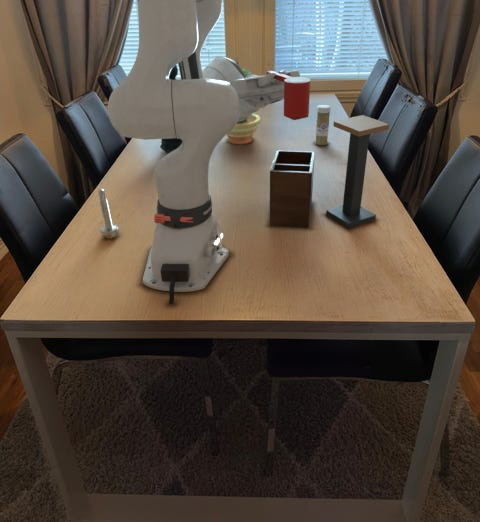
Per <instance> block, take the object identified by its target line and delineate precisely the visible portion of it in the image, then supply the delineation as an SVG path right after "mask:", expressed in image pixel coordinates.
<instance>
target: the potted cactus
mask: <svg viewBox="0 0 480 522" xmlns="http://www.w3.org/2000/svg"><path fill="white" fill-rule="evenodd" d="M241 69H242V71H243V73H244V75H245V77H248V76H250V75H254V74H253V73H252V72H250V71H249V70H248V69H246V68H245V67H244V68H243V67H242V68H241ZM261 120H262V119H261V117H260V115H259V114H255V113H253V114H252V115H251V116H249V117H247V118H246V119H244V120H241V121H238V122H237V124H236V125H235V127H234V128H233V129H232V130H231V131H230V132H229V133H228V134H227V135H226V137H227V138H228V142H229V143H231V144H233V145H235V144H236V145H245V144H249V143H251V142H253V136H254V135H255V134H256V132H257V129H258V127H259V125H260V124H261Z"/></svg>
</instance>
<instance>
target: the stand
mask: <svg viewBox="0 0 480 522" xmlns="http://www.w3.org/2000/svg"><path fill="white" fill-rule="evenodd" d="M333 127H334V128H337V129H339V130H340V131H341V130H342V131H344V132H346V133H349V142H348V152H347V161H346V169H345V170H346V172H345V182H344V191H343V201H342V205H338V206H335V207H332V208H328V209H326V210H325V216H327V217H329V218H330V219H331V220H333V221H335V222H336V223H338V224H340V226H343V227H344V228H346V229H348V230H350V229H353V228H356V227H359V226H362V225H365V224H368V223H370V222H374V221H376V218H377V214H375V213H374V212H371V211H370V210H368V209H366V208H364V207H363V206H362V199H363V191H364V182H365V176H366V175H365V174H366V167H367V158H368V152H369V151H368V150H369V142H370V136H371V134H376V133H379V132H384V131H388V130H389V129H390V124H389V123H387V122H384V121H381V120H378V119H375V118H372V117H370V116H367V115H364V114H361V115H356V116H352V117H348V118H347V117H346V118H342V119H338V120H334V121H333Z"/></svg>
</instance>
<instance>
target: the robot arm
mask: <svg viewBox="0 0 480 522" xmlns="http://www.w3.org/2000/svg"><path fill="white" fill-rule="evenodd" d="M136 4H137V14H138V48H137V49H138V51H137V54H136V59H135V61H134V63H133V65H132V67H131V69H130V71H129V73H128V74H127V75H126V77H125V78H124V79H123V80H122V81H121V82H120V83H119V84H118V85H116V87H115V88H113V90H112V92H111V93H110V96H109V97H108V98H109V99H108V103H107V115H108V119H109V121H110V123H111V126H112V128H113V129H114V131H116V132H117V133H118V134H119V135H120V136H121V137H124V138H129V139H135V140H136V139H137V140H142V141H143V140H145V141H146V140H161V139H169V138H177V139H181V140H182V144H181V145H180V146H179V147H178V148H177V149H175V150H174V151H172V152H170V153H166V154H165V155H164V156H162V157H161V158H160V159H159V160H158V162H157V163H156V166H155V170H154V175H155V183H156V189H157V201H156V213H154V215H153V216H154V217H153V222H154V223H155V227H154V233H153V238H152V245H151V246H150V249H149V254H148V257H147V261H146V264H145V269H144V273H143V277H142V284H143V285H144V286H146V287H148V288H150V289H154V290H156V291H157V290H158V291H163V292H168V296H169V297H168V298H169V299H168V303H169V305H172V304H174V302H175V293H188V292H189V293H191V292H196V291H202V290H204V289H205V288H206V287H207V286H208V285H209V283H210V282H211V280H212V279H213V278H214V276H215V275H216V274H217V272H218V271H219V269H220V268H221V267H222V265H223V264H224V263H225V261H226V260H227V259H228V257H229V255H230V253H229V249H227V248H226V247H224V246H223V242H222V240H223V237H224V233H222V232H221V226H220V222H219V221H218V219H217V218H215V217H214V215H213V201H212V196H211V194H210V190H209V169H210V168H209V167H210V161H211V158H212V156H213V153H214V150H216V147H217V146H218V145H219V143H220V142H221V141H222V139H223V138H225V136H227V134H228V133H229V132H230V131H231V130H232V129H233V128H234V127H235V125H236V124H237V122H238V121H241V120H244V119H246V118H247V117H249V116H251V115H252V114H255V113H257V112H258V111H260V110H261V109H264V108H266V107H268V106H269V105H272V104H275V103H278V102H281V101H284V82H282V81H279V80H276V73H275V72H276V71H275V72H271V73H268V74H267V73H266V74H265V75H257V74H253V75H250V76H248V77H245V75H244V73H243V71H242V69H243V68H241V67H240V66H239V64H238V63H237V62H236V61H234V60H233V59H231V58H229V57H225V56H216V57H214V59H213V60H211V61H210V62H209V63H208V64H207V65H206V66H205V68H204V69H202V62H201V55H202V51H203V47H204V45H205V43H206V40H207V38H208V37H209V35H210V34H211V32H212V31H213V29H214V27H215V26H216V24H217V23H218V22H219V19H220V18H221V14H222V11H223V0H136ZM175 65H176V66H177V65H178V71H179V75H180V79H177V80H172V79H169V78H168V77H169V73H170V71H171V69H172V68H173V67H174V66H175ZM277 72H278V73H281V74H284V75H287V76H290V77H301V74H300V71H299V70H298V69H295V70H288V71H286V70H279V71H277Z"/></svg>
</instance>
